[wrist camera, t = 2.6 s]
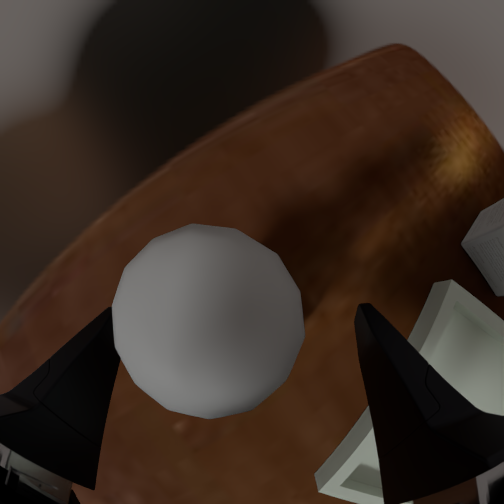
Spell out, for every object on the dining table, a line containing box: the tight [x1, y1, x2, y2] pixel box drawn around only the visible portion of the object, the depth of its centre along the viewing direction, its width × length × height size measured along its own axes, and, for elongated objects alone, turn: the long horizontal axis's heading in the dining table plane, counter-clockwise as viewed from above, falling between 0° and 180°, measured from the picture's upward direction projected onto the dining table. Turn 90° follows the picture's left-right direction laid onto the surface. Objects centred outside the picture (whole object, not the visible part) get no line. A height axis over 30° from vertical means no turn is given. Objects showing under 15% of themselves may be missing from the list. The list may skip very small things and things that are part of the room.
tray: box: [314, 279, 504, 504], centre depth 14 cm, size 16×16×2 cm
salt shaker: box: [112, 224, 305, 419], centre depth 11 cm, size 6×6×13 cm
